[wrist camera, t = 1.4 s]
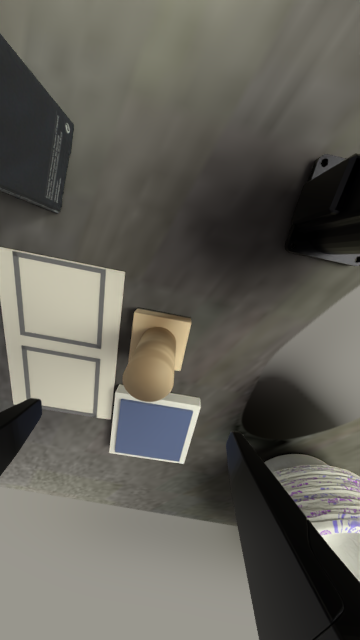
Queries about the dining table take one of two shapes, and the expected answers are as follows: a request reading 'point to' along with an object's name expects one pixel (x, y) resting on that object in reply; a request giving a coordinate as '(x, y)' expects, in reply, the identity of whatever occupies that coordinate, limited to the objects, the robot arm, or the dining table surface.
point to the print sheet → (61, 331)
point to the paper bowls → (325, 501)
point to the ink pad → (153, 426)
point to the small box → (31, 136)
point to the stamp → (155, 353)
